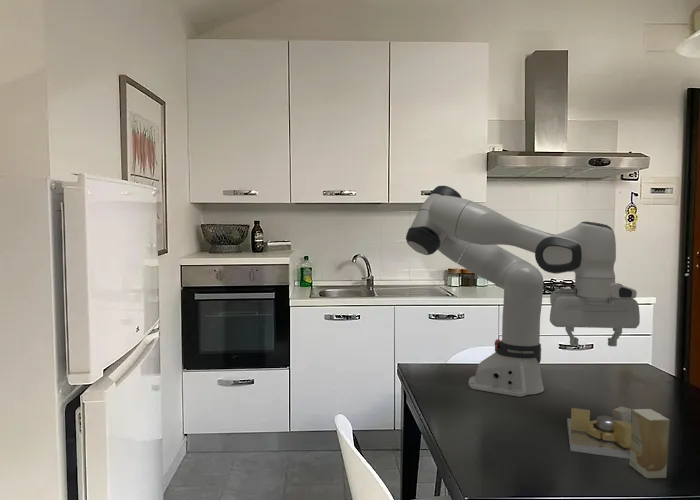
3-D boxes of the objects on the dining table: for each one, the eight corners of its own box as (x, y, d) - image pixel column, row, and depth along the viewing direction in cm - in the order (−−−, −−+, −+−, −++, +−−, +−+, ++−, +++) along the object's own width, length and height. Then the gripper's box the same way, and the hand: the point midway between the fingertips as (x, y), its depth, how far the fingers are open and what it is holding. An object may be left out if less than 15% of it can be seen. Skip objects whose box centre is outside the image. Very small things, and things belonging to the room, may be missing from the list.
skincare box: (628, 465, 114) (630, 408, 114) (647, 464, 115) (650, 407, 114) (647, 479, 108) (649, 419, 107) (668, 479, 108) (670, 418, 108)
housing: (570, 450, 121) (571, 427, 121) (567, 424, 137) (567, 403, 137) (656, 462, 116) (657, 438, 115) (642, 433, 132) (642, 411, 131)
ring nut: (572, 441, 122) (573, 421, 122) (569, 418, 136) (569, 400, 136) (640, 449, 117) (641, 429, 117) (629, 425, 131) (630, 407, 131)
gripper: (554, 290, 129) (553, 347, 130) (643, 291, 127) (641, 349, 128) (546, 286, 135) (545, 341, 136) (631, 288, 134) (630, 343, 134)
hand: (593, 345), depth 132 cm, fingers open, 8 cm apart
